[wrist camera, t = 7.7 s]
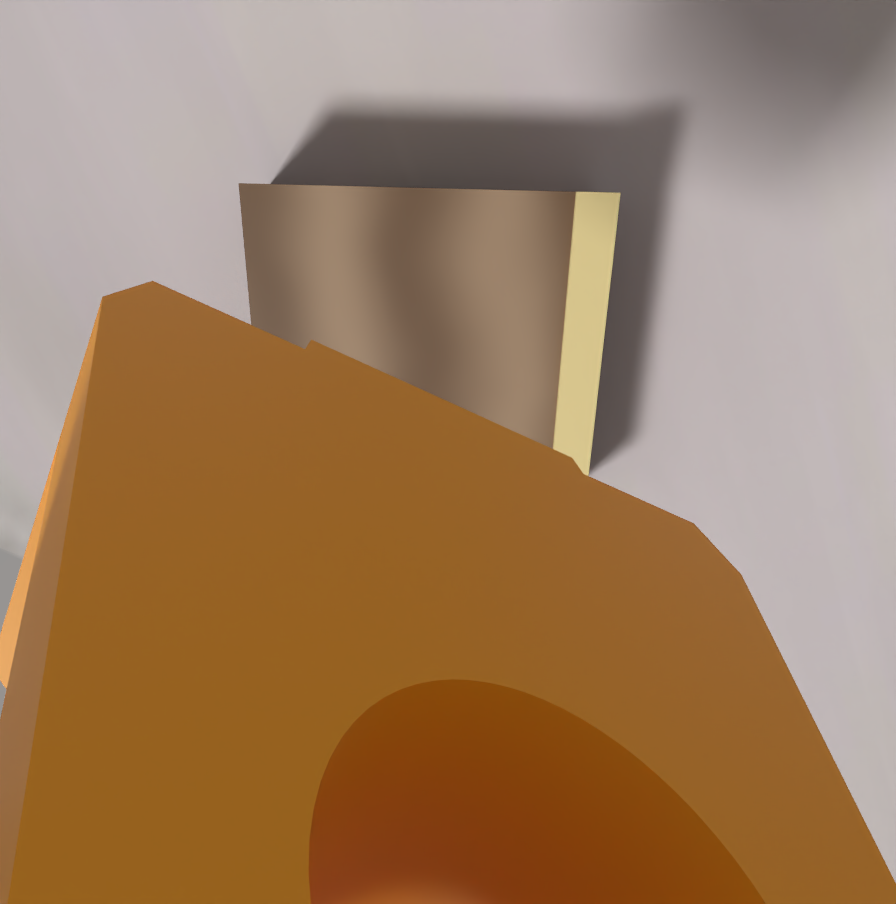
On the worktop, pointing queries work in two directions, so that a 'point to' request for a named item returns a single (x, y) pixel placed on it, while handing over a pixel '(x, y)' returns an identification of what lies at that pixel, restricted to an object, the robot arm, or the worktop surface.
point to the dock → (446, 292)
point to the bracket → (381, 658)
